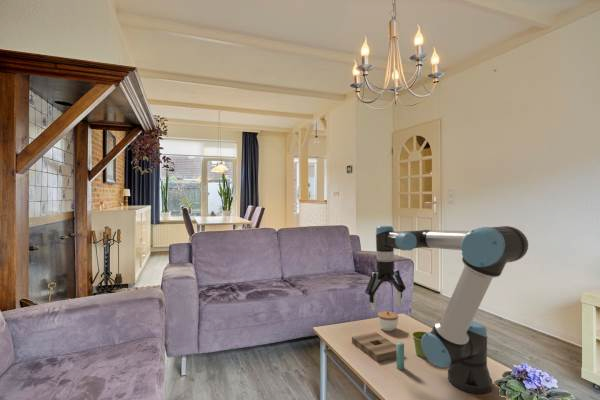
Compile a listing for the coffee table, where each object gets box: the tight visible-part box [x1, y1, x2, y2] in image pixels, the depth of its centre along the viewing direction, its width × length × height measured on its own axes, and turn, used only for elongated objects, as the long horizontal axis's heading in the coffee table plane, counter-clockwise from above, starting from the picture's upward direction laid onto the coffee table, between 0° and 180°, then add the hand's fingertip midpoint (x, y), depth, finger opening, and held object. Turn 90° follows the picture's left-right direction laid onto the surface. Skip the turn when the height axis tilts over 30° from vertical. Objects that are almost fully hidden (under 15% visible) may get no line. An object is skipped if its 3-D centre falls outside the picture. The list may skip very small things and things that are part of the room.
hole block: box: [351, 331, 397, 363], centre depth 152 cm, size 20×14×3 cm
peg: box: [396, 342, 405, 371], centre depth 135 cm, size 3×3×10 cm
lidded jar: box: [377, 310, 399, 332], centre depth 176 cm, size 11×11×9 cm
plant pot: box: [411, 330, 428, 359], centre depth 147 cm, size 9×9×9 cm
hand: (386, 307), depth 146 cm, fingers open, 13 cm apart
